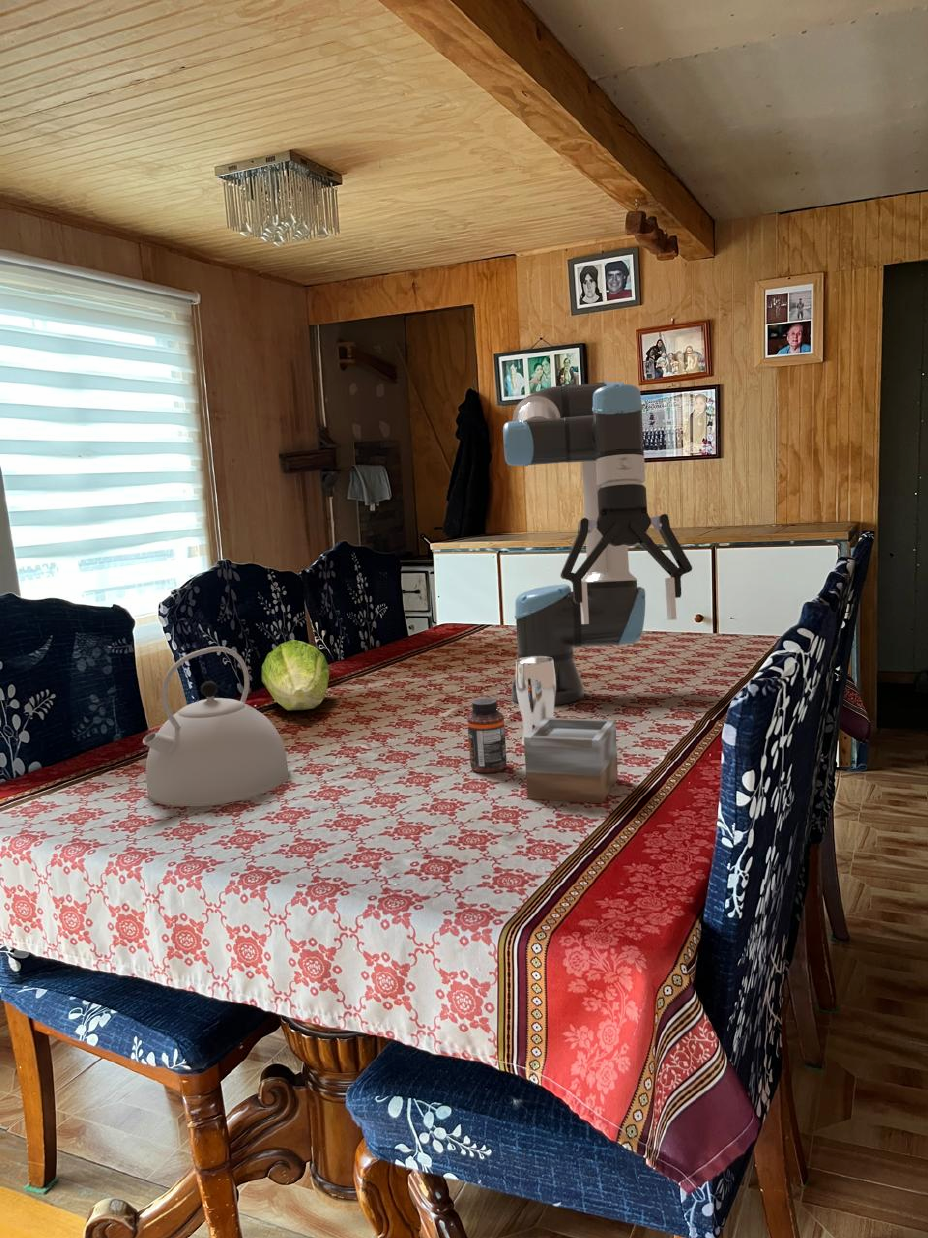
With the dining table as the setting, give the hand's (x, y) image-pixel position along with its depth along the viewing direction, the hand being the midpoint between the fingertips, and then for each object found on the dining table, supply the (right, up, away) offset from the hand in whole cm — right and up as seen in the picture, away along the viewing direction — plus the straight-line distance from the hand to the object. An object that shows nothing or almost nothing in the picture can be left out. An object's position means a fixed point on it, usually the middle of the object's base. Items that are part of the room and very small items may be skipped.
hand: (628, 622), depth 146 cm
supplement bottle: (-22, -24, +6) cm, 33 cm away
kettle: (-67, -27, +7) cm, 72 cm away
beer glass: (-12, -22, +18) cm, 31 cm away
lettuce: (-61, -19, +56) cm, 85 cm away
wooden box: (-9, -25, -6) cm, 27 cm away
